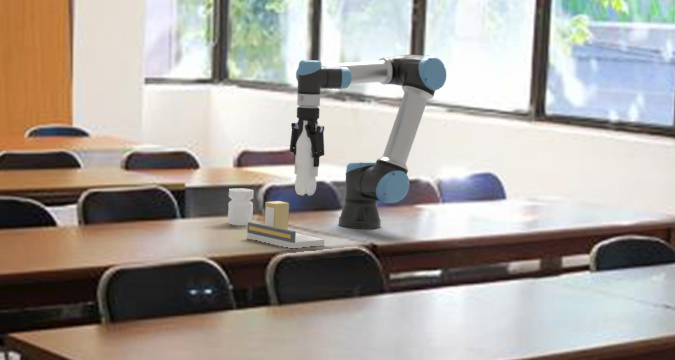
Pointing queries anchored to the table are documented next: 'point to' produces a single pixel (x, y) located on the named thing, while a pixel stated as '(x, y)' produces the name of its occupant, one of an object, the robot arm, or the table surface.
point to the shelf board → (281, 236)
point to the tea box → (277, 214)
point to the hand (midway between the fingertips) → (306, 175)
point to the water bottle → (304, 165)
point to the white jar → (240, 206)
